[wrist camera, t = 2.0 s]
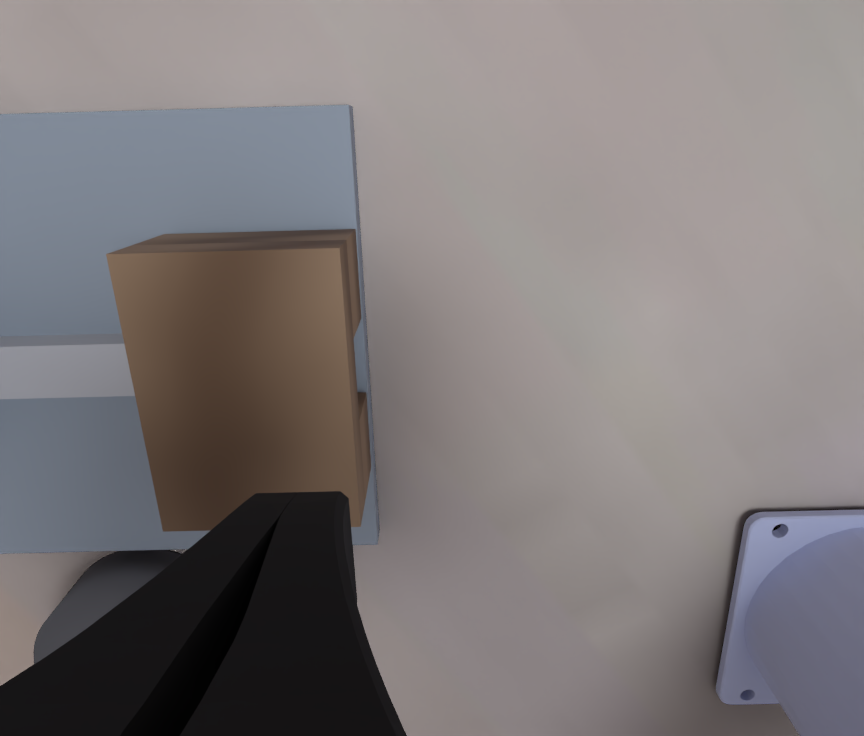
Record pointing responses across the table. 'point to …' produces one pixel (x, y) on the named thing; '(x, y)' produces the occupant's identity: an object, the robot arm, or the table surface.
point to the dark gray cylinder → (99, 595)
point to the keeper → (244, 367)
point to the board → (95, 302)
